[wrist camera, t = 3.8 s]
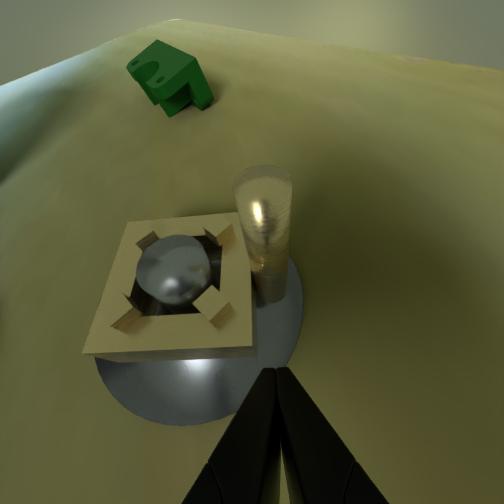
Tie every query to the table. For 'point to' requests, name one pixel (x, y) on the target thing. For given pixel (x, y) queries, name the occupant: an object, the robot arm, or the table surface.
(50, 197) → the table surface
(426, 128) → the table surface
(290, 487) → the robot arm
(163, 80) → the green mounting bracket
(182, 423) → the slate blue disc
